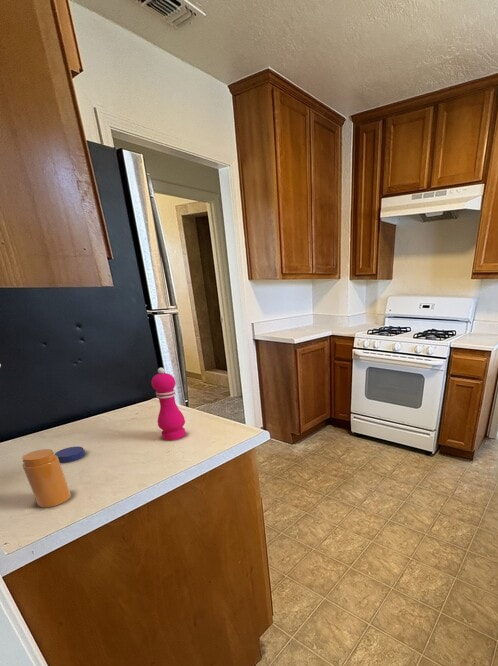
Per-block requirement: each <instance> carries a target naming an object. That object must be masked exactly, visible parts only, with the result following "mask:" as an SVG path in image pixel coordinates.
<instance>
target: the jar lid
mask: <svg viewBox="0 0 498 666" xmlns="http://www.w3.org/2000/svg"><path fill="white" fill-rule="evenodd" d="M54 455H56V456H58V459H59V462H60V464H61V463H64V464H65V463H70V462H74V461H77V460H80V459H82V458H84V457H85V455H86V452H85V448H84V447H83V446H78V445H77V446H69V447H65V448H62V449H59V450H58V451H56V452H54Z"/></svg>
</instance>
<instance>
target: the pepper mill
mask: <svg viewBox="0 0 498 666" xmlns="http://www.w3.org/2000/svg"><path fill="white" fill-rule="evenodd" d="M176 384H177V383H176V379H175V377H174V376H173V375H172V374H170V373H168V372H166V370H165V368H164V367H159V368H158V369H157V374H154V376H153V377H152V379H151V387H152V389H154V390H155V397H156V398H157V399H158V402H159V413H158V416H157V426H158V428H159V429H161V437H162V439H163V440H165V441H176V440H180V439H182V438H184V437H185V436H186V428H185V427H184V426H185V424H186V419H185V416H184V414H183V413H182V411H181V410H180V409H179V407H178V406H177V402H176V397H175V396H177V395H176V394H177V393H176V390H175V387H176Z"/></svg>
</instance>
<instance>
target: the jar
mask: <svg viewBox="0 0 498 666" xmlns="http://www.w3.org/2000/svg"><path fill="white" fill-rule="evenodd" d="M21 459H22V468H23V471H24V473H25V477H26V478H27V481H28V483H29V486H30V489H31V491H32V494H33V496H34V498H35V501H36V503H37V506H38V507H40V508H51V507H55V506H58V505H61V504H64V503H65V502H67V501H68V500H69V499H70V498H71V497H72V494H71V490H70V487H69V485H68V481H67V479H66V475H65V473H64V471H63V468H62V466H61V465H62V464H61V462H59V459H58V456H56V455H55V452H54V450H53V449H51V448H43V449H38V450H34V451H30V452H28V453H26V454H24V455H23V456H22V458H21Z"/></svg>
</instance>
